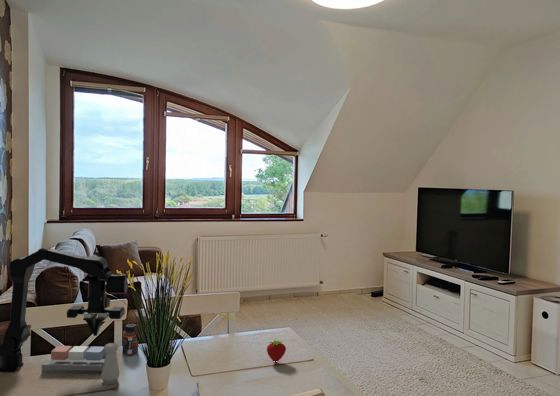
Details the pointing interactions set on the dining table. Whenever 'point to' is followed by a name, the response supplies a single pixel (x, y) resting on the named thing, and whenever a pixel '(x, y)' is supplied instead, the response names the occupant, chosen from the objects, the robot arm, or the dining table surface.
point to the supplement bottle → (129, 341)
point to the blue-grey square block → (95, 353)
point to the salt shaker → (110, 364)
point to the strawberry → (276, 350)
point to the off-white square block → (77, 353)
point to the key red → (60, 352)
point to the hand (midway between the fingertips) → (95, 335)
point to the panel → (74, 366)
